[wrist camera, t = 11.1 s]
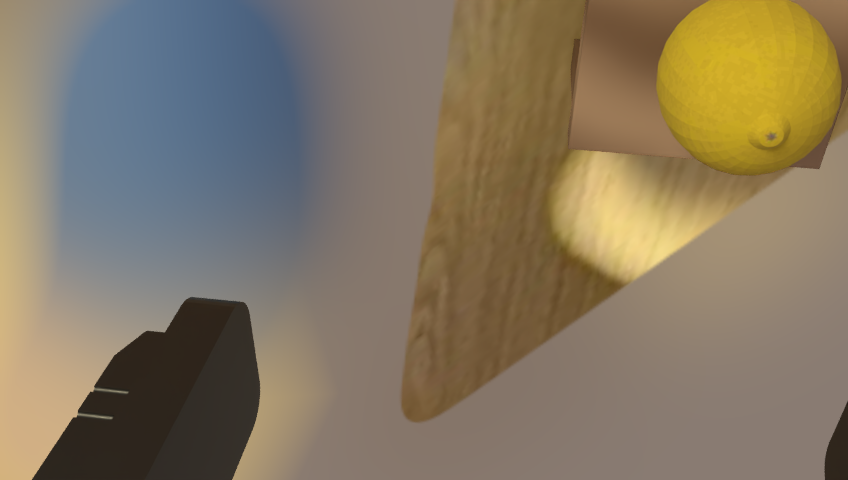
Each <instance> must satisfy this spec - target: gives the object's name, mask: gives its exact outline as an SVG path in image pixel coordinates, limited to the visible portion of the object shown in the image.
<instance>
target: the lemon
mask: <svg viewBox="0 0 848 480" xmlns="http://www.w3.org/2000/svg"><path fill="white" fill-rule="evenodd" d="M841 82H842V79H841V72H840V67H839V63H838V58H837V54H836V50H835V47H834V45H833V43H832V42H831V40H830V38H829V37H828V35H827V33H826V32H825V30H824V28H823V27H822V25H821V24H820V23H819V21H818V20H817V19H815V18H814V17H813V16H812V15H811V14H809V13H808V12H807V11H806V10H805V9H804V8H802V7H801V6H800V5H798V4H796V3H794V2H792V1H790V0H709V1H708V2H706V3H704V4H702V5H701V6H699V7H697V8H696V9H694V10H692V11H691V12H690V13H689V14H688V15H687V16H686V17H685V18H684V19H683V20H682V21H681V22H680V23H679V24H678V25H677V26H676V28H675V29H674V31H673V32H672V34H671V35H670V37H669V38H668V40H667V41H666V43H665V46H664V49H663V51H662V54H661V57H660V60H659V63H658V70H657V82H656V90H657V95H658V100H659V105H660V110H661V114H662V116H663V118H664V120H665V122H666V124H667V126H668V128H669V129H670V131H671V133H672V135H673V136H674V138H675V139H676V140H677V141H678V142H679V143H680V144H681V145H682V146H683V147H684V148H685V149H686V150H687V151H688V152H689V153H690V154H691V155H692V156H693V157H694V158H696V159H697V160H699V161H700V162H702V163H704V164H706V165H708V166H709V167H711V168H713V169H716V170H719V171H722V172H726V173H729V174H733V175H760V174H766V173H772V172H775V171H778V170H780V169H783V168H786V167H789V166H791V165H792V164H794V163H796V162H797V161H799V160H800V159H802V158H804V157H805V156H806V155H807V154H809V153H810V152H811V151H812V150H813V149H814V148H815V147H816V146H817V145H818V144H819V143H820V142H821V141H822V140H823V138H824V137H825V135H826V134H827V132H828V131H829V129H830V128H831V127H832V124H833V121H834V119H835V116H836V113H837V111H838V108H839V105H840V95H841Z"/></svg>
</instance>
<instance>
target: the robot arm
mask: <svg viewBox="0 0 848 480" xmlns="http://www.w3.org/2000/svg"><path fill="white" fill-rule="evenodd" d="M94 387H95V388H94V391H93V392H90V393H89V395H88V396H87V398H86V399H85V401H84V402H83V404H82V405H81V407H80V408H79V410H78V415H77V417H76V418H73V419H72V420H71V422H70V423H69V425H68V426H67V428H66V429H65V431H64V432H63V434H62V435H61V437H60V438H59V440H58V441H57V443H56V444H55V446H54V447H53V449H52V450H51V452H50V453H49V455H48V456H47V458H46V459H45V461H44V462H43V464H42V465H41V467H40V468H39V470H38V471H37V473H36V474H35V476H34V477H33V479H32V480H232V479H233V476H234V473H235V471H236V469H237V466H238V464H239V461H240V459H241V456H242V454H243V452H244V449H245V447H246V444H247V442H248V440H249V437H250V435H251V432H252V430H253V427H254V424H255V421H256V417H257V413H258V407H259V399H260V381H259V374H258V368H257V361H256V354H255V347H254V341H253V334H252V327H251V321H250V314H249V310H248V307H247V305H246V304H245V303H244V302H237V301H227V300H216V299H206V298H195V297H190V298H188V299H186V300H185V301H184V303H183V304H182V305H181V307H180V309H179V310H178V312H177V314H176V315H175V317H174V319H173V320H172V322H171V323H170V325H169V327H168V328H167V330H166V332H165V333H163V332H154V331H146V332H144V333H143V334H142V335H140V336H139V337H138V338H136V339H135V340H134V341H133V342H131V343H130V344H129V345H127V346H126V347H125V348H124V349H122V350H121V351H120V352H118V353H117V354H116V355H114V357H113V359H112V360H111V362H110V363H109V365H108V366H107V368H106V369H105V370H104V372H103V374H102V375H101V376H100V378H99V380H98V381H97V383H96V384H95V386H94ZM825 480H848V402H847V404H846V407H845V409H844V411H843V413H842V415H841V418H840V420H839V422H838V424H837V427H836V429H835V431H834V433H833V436H832V438H831V440H830V442H829V445H828V448H827V452H826V458H825Z"/></svg>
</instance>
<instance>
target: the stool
mask: <svg viewBox="0 0 848 480" xmlns="http://www.w3.org/2000/svg"><path fill="white" fill-rule="evenodd" d="M708 1H709V0H586V3H585V11H584V18H583V25H582V33H581V40H579V39H575V41H574V48H573V56H572V64H571V91H572V106H571V113H570V121H569V128H568V149H577V150H589V151H602V152H614V153H627V154H639V155H652V156H664V157H677V158H689V159H696V158H694V157H693V156H692V155H691V154H690V153H689V152H688V151H687V150H686V149H685V148H684V147H683V146H682V145H681V144H680V143H679V142H678V141H677V140H676V139H675V138H674V136H673V135H672V133H671V131H670V129H669V128H668V126H667V124H666V122H665V120H664V118H663V116H662V114H661V110H660V105H659V100H658V95H657V90H656V82H657V70H658V63H659V60H660V57H661V54H662V51H663V49H664V46H665V43H666V41H667V40H668V38H669V37H670V35H671V34H672V32H673V31H674V29H675V28H676V26H677V25H678V24H679V23H680V22H681V21H682V20H683V19H684V18H685V17H686V16H687V15H688V14H689V13H690V12H691V11H692V10H694V9H696V8H697V7H699V6H701V5H702V4H704V3H706V2H708ZM790 1H792V2H794V3H796V4H798V5H800V6H801V7H802V8H804V9H805V10H806V11H807V12H808V13H809V14H811V15H812V16H813V17H814V18H815V19H817V20H818V21H819V23H820V24H821V25H822V27H823V28H824V30H825V32H826V33H827V35H828V37H829V38H830V40H831V42H832V43H833V45H834V47H835V50H836V54H837V58H838V63H839V67H840V72H841V79H842V82H841V95H840V105H839V108H838V111H837V113H836V116H835V119H834V121H833V124H832V127H831V128H830V129H829V131H828V132H827V134H826V135H825V137H824V138H823V140H822V141H821V142H820V143H819V144H818V145H817V146H816V147H815V148H814V149H813V150H812V151H811V152H810V153H809V154H807V155H806V156H805V157H804V158H802V159H800V160H799V161H797V162H796V163H794V164H792V165H791V166H789V167H801V168H814V169H819V168H820V165H821V162H822V159H823V156H824V154H825V150H826V148H827V145H828V142H829V139H830V136H831V133H832V130H833V128H834V125H835V122H836V119H837V116H838V113H839V110H840V107H841V104H842V102H843V99H844V96H845V93H846V90H847V87H848V0H790Z"/></svg>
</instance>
